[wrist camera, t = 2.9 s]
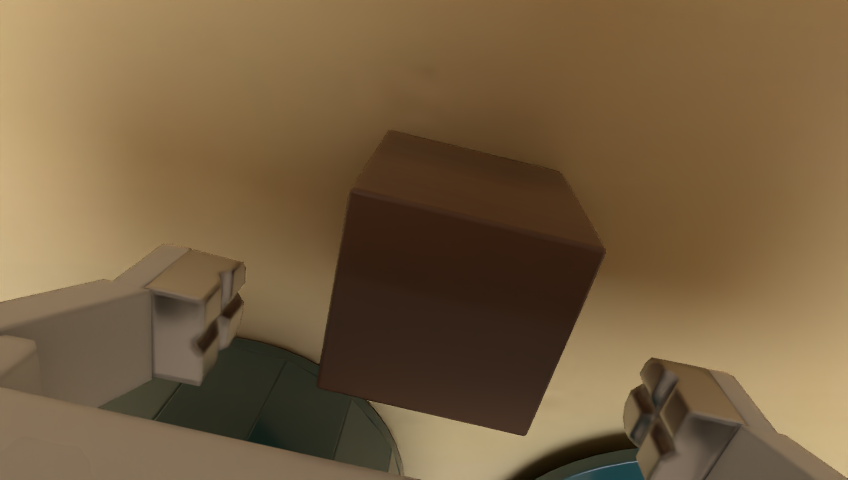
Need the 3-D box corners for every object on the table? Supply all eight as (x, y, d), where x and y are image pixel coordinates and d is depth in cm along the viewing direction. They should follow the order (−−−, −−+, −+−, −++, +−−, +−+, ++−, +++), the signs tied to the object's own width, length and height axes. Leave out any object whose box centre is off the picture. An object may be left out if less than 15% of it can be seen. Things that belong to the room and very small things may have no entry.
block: (388, 128, 12) (348, 187, 8) (562, 171, 12) (609, 250, 8) (358, 281, 14) (314, 389, 10) (509, 317, 14) (526, 438, 10)
